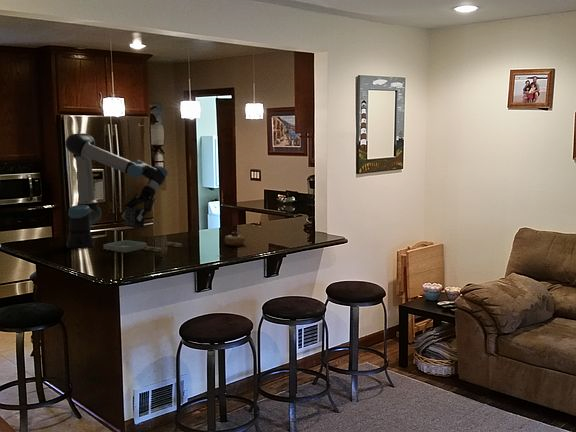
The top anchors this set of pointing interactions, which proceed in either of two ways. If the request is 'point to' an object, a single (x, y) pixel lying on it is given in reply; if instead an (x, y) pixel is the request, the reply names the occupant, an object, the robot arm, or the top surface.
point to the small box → (133, 217)
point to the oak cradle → (161, 248)
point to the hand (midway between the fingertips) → (130, 218)
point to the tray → (125, 246)
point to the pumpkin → (234, 239)
